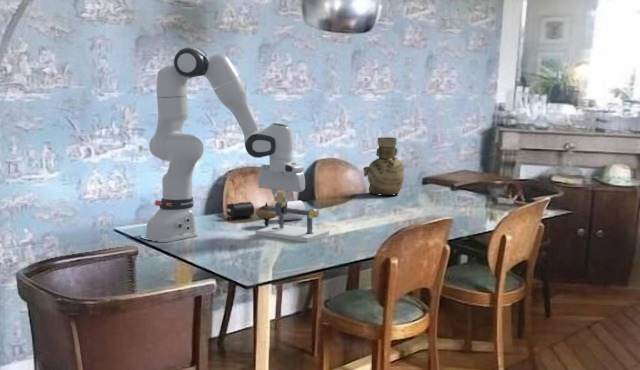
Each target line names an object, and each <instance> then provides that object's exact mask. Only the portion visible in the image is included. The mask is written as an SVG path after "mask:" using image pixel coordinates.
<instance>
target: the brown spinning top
mask: <svg viewBox="0 0 640 370" xmlns="http://www.w3.org/2000/svg"><path fill="white" fill-rule="evenodd" d="M269 206H270V205H268V202H265V205H262V206H261V207H259V208H257V209H255V210H256V211H255V214H256V216H257V217H258V218H259V219H262V220H264V226H265V227H270V226H269V225H270V224H269V221H270V220H271V219H274V218H275V217H276V216H277V215H276V212H275V211H268V207H269Z"/></svg>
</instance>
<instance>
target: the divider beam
mask: <svg viewBox="0 0 640 370" xmlns="http://www.w3.org/2000/svg"><path fill="white" fill-rule="evenodd" d="M268 206H269V207H268V211H275V212H276V206H274V205H268ZM282 212H283V213H291V214H299V215H304V216H306V228H307V233H312V229H313V219H316V218H318V217H319V215H320V212H319V210H318V209H317V208H310V209H309V210H307V209H305V210H300V209H291V208H282Z"/></svg>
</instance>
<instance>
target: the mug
mask: <svg viewBox="0 0 640 370" xmlns="http://www.w3.org/2000/svg"><path fill="white" fill-rule="evenodd" d="M287 208H291V209H300V210H306V207H305V204H304V202H303V201H302V200H288V202H287ZM276 216H277V215H276ZM304 218H305V215H299V214H291V213H287V214H286V215H284V222H286V221H295V220H303V219H304ZM277 220H279V216H277Z"/></svg>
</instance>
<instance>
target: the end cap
mask: <svg viewBox="0 0 640 370" xmlns="http://www.w3.org/2000/svg"><path fill="white" fill-rule="evenodd" d="M226 209H228V210H230V211H226V215H227V219H228V218H231V219H230V220H232V219H233V220H240V219H246V218H247V219H248V218H251V217H252V216H253V215H254V213H255V206H254V204H253V202H251V201H246V202H244V201H242V202H238V203H228V204H227V205H226ZM239 218H240V219H239Z"/></svg>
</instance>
